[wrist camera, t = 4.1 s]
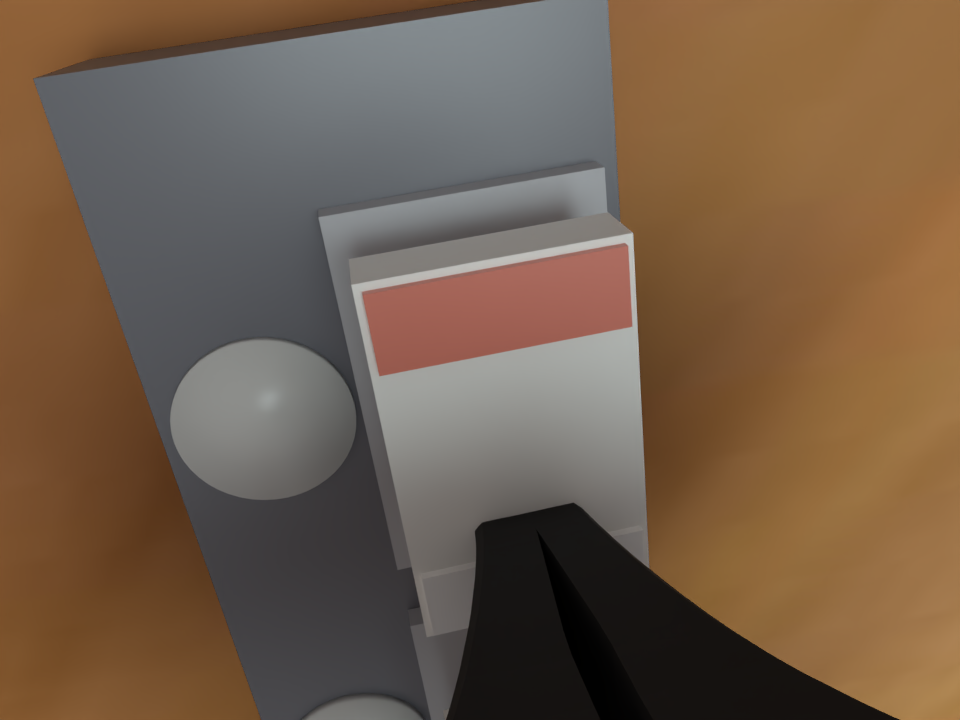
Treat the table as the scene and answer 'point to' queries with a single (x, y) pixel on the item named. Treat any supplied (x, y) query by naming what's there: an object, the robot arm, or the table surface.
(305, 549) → the power strip
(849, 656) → the table surface
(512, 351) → the rocker outer
